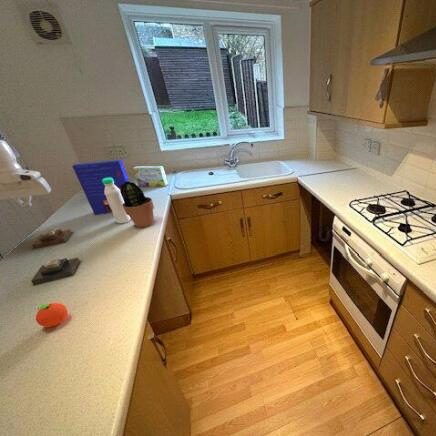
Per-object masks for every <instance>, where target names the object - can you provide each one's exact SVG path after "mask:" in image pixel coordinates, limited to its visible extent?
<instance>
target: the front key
mask: <svg viewBox="0 0 436 436" xmlns="http://www.w3.org/2000/svg"><path fill="white" fill-rule="evenodd" d="M60 263H61V258H54V259H52V260H47V262H45V264H46V265H45V264H44V265H45V268H46V269H49V268H54V267H58V266H59V265H60Z"/></svg>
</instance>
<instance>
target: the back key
mask: <svg viewBox="0 0 436 436" xmlns="http://www.w3.org/2000/svg"><path fill="white" fill-rule="evenodd" d="M56 230H57V229H55V228H51V229H46V230H45V231H43V233H42V234H43V236H50V235H54V234H55V233H56Z"/></svg>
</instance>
